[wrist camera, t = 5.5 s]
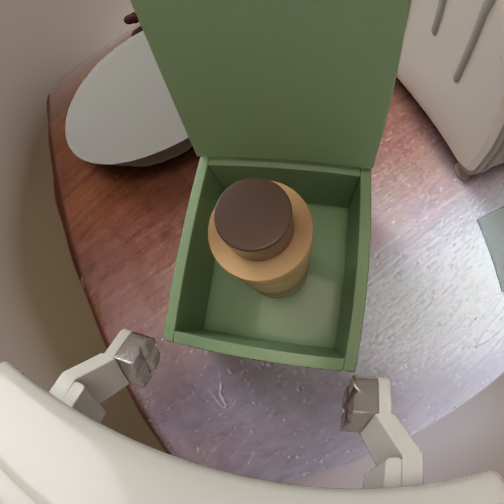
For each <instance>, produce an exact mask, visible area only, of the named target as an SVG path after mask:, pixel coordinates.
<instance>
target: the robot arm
mask: <svg viewBox="0 0 504 504" xmlns="http://www.w3.org/2000/svg"><path fill="white" fill-rule="evenodd" d="M155 344H156V342H155V339H154V338H152V337H149V336H146V335H142V334H139V333H136V332H134V331H130V330H127V329H123V330H121V331H120V332H119V334H118V335H117V336H116V338H115V339H114V341H113V342H112V343H111V345H110V346H109V348H108V349H107V350H106V352H105V353H104V354H102V353H101V354H99V355H97V356H95V357H93V358H91V359H89V360H87V361H85V362H83V363H81V364H79V365H77V366H75V367H73V368H70V369H68V370H66V371H64V372H63V373H62V374H61V376H60V377H59V378H58V380H57V381H56V383H55V384H54V385H53V387H52V388H51V390H50V391H49V392H47V391H46V390H45V389H43V388H42V387H40V386H39V385H37V384H36V383H35V382H33V381H32V380H31V379H29V378H28V377H27V376H25V375H24V374H23V373H22V372H20V371H19V370H18V369H17V368H15V367H14V366H13V365H12V364H10V363H9V362H1V363H0V504H504V480H503V478H502V477H501V476H500V475H499V474H498V473H497V472H496V471H493V470H489V471H485V472H482V473H478V474H474V475H470V476H466V477H462V478H457V479H453V480H447V481H442V482H436V483H429V484H424V455H423V453H422V452H421V450H420V449H419V447H418V446H417V444H416V443H415V441H414V440H413V438H412V437H411V436H410V434H409V433H408V431H407V430H406V428H405V427H404V426H403V424H402V423H401V421H400V420H399V418H398V417H397V416H396V414H392V396H391V381H390V379H389V378H387V377H372V376H355V375H353V376H352V377H351V379H350V385H348V386H347V387H346V389H345V392H344V396H343V403H342V408H343V409H344V413H343V415H342V416H341V427H340V431H348V432H360V435H361V437H362V439H363V441H364V443H365V445H366V447H367V449H368V451H369V453H370V455H371V456H372V459H373V460H374V462H375V464H376V466H377V467H375V468H374V469H372V470H371V471H370V472H368V473H367V474H365V475H364V481H363V488H362V489H343V488H322V487H309V486H300V485H292V484H285V483H278V482H272V481H266V480H260V479H255V478H250V477H245V476H241V475H236V474H232V473H228V472H224V471H220V470H217V469H213V468H209V467H206V466H203V465H199V464H196V463H193V462H190V461H187V460H184V459H181V458H178V457H175V456H172V455H170V454H167V453H164V452H161V451H159V450H157V449H154V448H151V447H149V446H147V445H144V444H142V443H140V442H137V441H135V440H133V439H130V438H128V437H126V436H124V435H122V434H120V433H118V432H116V431H114V430H112V429H110V428H108V427H106V426H104V425H102V424H100V423H101V421H102V419H103V417H104V415H105V414H106V413H105V410H104V409H103V408H102V407H101V405H100V403H101V402H103V401H104V400H106V399H107V398H109V397H110V396H112V395H113V394H115V393H116V392H117V391H119V390H120V389H122V388H123V387H125V386H126V385H128V384H129V382H130V383H132V384H135V385H138V386H141V387H144V388H145V387H146V386H147V384H148V382H149V380H150V379H151V377H152V376H151V371H153V370H155V369H156V368H157V366H158V364H159V360H160V352H159V349H158V348H157V347H156V346H155Z"/></svg>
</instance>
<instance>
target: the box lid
mask: <svg viewBox="0 0 504 504" xmlns="http://www.w3.org/2000/svg"><path fill="white" fill-rule="evenodd" d="M131 3H132V5H133V8H134V10H135V13H136V15H137V17H138V20H139V22H140V25H141V27H142V29H143V32H144V34H145V37H146V39H147V41H148V44H149V46H150V48H151V51H152V53H153V56H154V58H155V60H156V63H157V65H158V67H159V70H160V72H161V74H162V77H163V79H164V81H165V84H166V86H167V88H168V91H169V93H170V95H171V98H172V100H173V102H174V105H175V107H176V109H177V112H178V114H179V116H180V118H181V121H182V123H183V125H184V128H185V130H186V132H187V135H188V137H189V139H190V141H191V144H192V146H193V148H194V151H195V153H196V155H197V156H226V157H256V158H274V159H289V160H302V161H313V162H323V163H332V164H341V165H349V166H357V167H364V168H371V169H372V168H373V166H374V162H375V159H376V156H377V152H378V149H379V145H380V142H381V138H382V134H383V131H384V127H385V123H386V119H387V115H388V111H389V107H390V103H391V99H392V95H393V90H394V86H395V81H396V77H397V72H398V67H399V62H400V57H401V51H402V46H403V40H404V34H405V27H406V20H407V13H408V5H409V0H131Z"/></svg>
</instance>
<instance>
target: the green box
mask: <svg viewBox="0 0 504 504" xmlns="http://www.w3.org/2000/svg"><path fill="white" fill-rule="evenodd" d="M247 178H264V179H267V180H270V181H275V182H279V183H282V184H284V185H286V186H288V187H290V188H291V189H293V190H294V191H296V192H297V193H298V194H299V195H300V196H301V197H302V198H303V200H304V201H305V203H306V204H307V206H308V208H309V210H310V213H311V216H312V220H313V238H312V246H311V254H310V261H309V269H308V275H307V278H306V281H305V283H304V284H303V286H302V287H301V288H300V289H299V290H298V291H297V292H296V293H294V294H293V295H291V296H288V297H285V298H271V297H267V296H265V295H263V294H261V293H260V292H258V291H257V290H255V289H254V288H252V287H250V286H249V285H247V284H246V283H244V282H243V281H241V280H239V279H238V278H236V277H235V276H233V275H232V274H230V273H229V272H227V271H226V270H225V269H224V268H223V267H222V266H221V265H220V264H219V263H218V262H217V260H216V259H215V257H214V255H213V253H212V251H211V248H210V246H209V241H208V225H209V221H210V217H211V214H212V212H213V210H214V208H215V206H216V204H217V201H218V199H219V198H220V196H221V194H222V193H223V192H224V191H225V190H226V189H227V188H228V187H229V186H231V185H232V184H234V183H236V182H238V181H240V180H243V179H247ZM370 235H371V169H370V168H364V167H361V168H360V167H356V166H348V165H340V164H331V163H322V162H312V161H300V160H287V159H272V158H253V157H219V156H211V157H209V156H201V157H200V160H199V164H198V167H197V171H196V175H195V179H194V183H193V187H192V191H191V195H190V200H189V204H188V208H187V212H186V217H185V221H184V226H183V230H182V235H181V240H180V245H179V249H178V254H177V259H176V265H175V270H174V275H173V281H172V286H171V292H170V298H169V304H168V310H167V316H166V322H165V329H164V336H163V339H164V340H166V341H170V342H174V343H178V344H182V345H186V346H190V347H195V348H199V349H203V350H208V351H213V352H217V353H222V354H227V355H232V356H238V357H243V358H248V359H254V360H260V361H266V362H272V363H279V364H286V365H293V366H301V367H309V368H318V369H327V370H338V371H350V372H355V369H356V364H357V358H358V352H359V346H360V340H361V333H362V326H363V318H364V310H365V301H366V292H367V281H368V269H369V254H370Z"/></svg>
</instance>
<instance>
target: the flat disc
mask: <svg viewBox="0 0 504 504" xmlns="http://www.w3.org/2000/svg"><path fill="white" fill-rule="evenodd" d="M65 131H66V139H67V143H68V145H69V147H70V149H71V150H72V151H73V152H74V154H75V155H76V156H78V157H79V158H81V159H82V160H85V161H88V162H90V163H96V164H110V165H118V166H133V167H136V166H146V167H147V166H150V165H153V164H156V163H162V162H165V161H167V160H169V159H171V158H174V157H177V156H179V155H180V154H182V153H184V152H186V151H188V150H189V149H190V148H191V147H192V144H191V141H190V139H189V137H188V135H187V132H186V130H185V128H184V125H183V123H182V121H181V118H180V116H179V114H178V112H177V109H176V107H175V105H174V102H173V100H172V98H171V95H170V93H169V91H168V88H167V86H166V84H165V81H164V79H163V77H162V74H161V72H160V70H159V67H158V65H157V63H156V60H155V58H154V56H153V53H152V51H151V48H150V46H149V44H148V41H147V39H146V37H145V34H144V32H143V31H141V32H139V33H137V34H136V35H134V36H132V37H130V38H129V39H127V40H126V41H124V42H123V43H121V44H120V45H119V46H117V47H116V48H115V49H114V50H112V51H111V52H110V53H109V54H108V55H106V56H105V57H104V58H103V59H102V60H101V61H100V62H99V63H98V64H97V65H96V66H95V67H94V68H93V70H92V71H91V72H90V73H89V74H88V76H87V77H86V78H85V80H84V81H83V82H82V84H81V85H80V87H79V89H78V90H77V92H76V94H75V96H74V98H73V100H72V102H71V105H70V107H69V110H68V114H67V118H66V126H65Z"/></svg>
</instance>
